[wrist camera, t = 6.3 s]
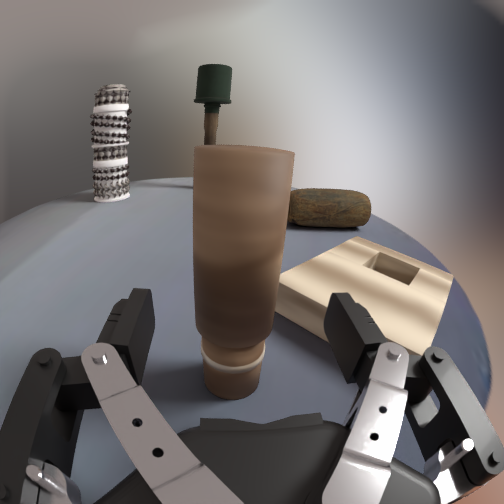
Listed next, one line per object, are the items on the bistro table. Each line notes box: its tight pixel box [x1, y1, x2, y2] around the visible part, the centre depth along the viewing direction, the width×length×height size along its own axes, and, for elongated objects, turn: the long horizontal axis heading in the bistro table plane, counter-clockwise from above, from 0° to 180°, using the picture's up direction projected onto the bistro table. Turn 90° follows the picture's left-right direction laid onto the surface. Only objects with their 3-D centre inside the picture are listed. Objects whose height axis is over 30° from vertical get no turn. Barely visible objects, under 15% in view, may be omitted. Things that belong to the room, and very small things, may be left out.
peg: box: [193, 145, 295, 400], centre depth 14 cm, size 4×4×14 cm
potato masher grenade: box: [194, 64, 232, 145], centre depth 60 cm, size 8×9×30 cm
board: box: [275, 236, 453, 356], centre depth 26 cm, size 17×14×3 cm
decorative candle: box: [90, 84, 132, 202], centre depth 51 cm, size 9×9×25 cm
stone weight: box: [287, 188, 371, 227], centre depth 46 cm, size 15×7×7 cm, turn 103°
